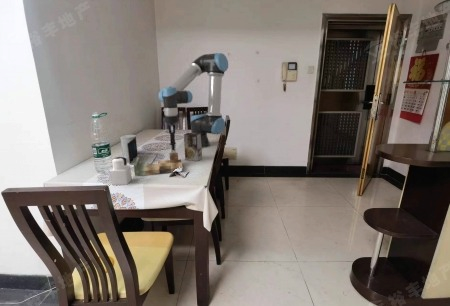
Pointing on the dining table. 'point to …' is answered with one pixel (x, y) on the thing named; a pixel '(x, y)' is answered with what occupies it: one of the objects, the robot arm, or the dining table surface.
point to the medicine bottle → (120, 171)
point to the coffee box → (193, 146)
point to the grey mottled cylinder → (124, 141)
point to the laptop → (133, 154)
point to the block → (173, 157)
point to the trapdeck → (155, 167)
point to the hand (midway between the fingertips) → (173, 154)
